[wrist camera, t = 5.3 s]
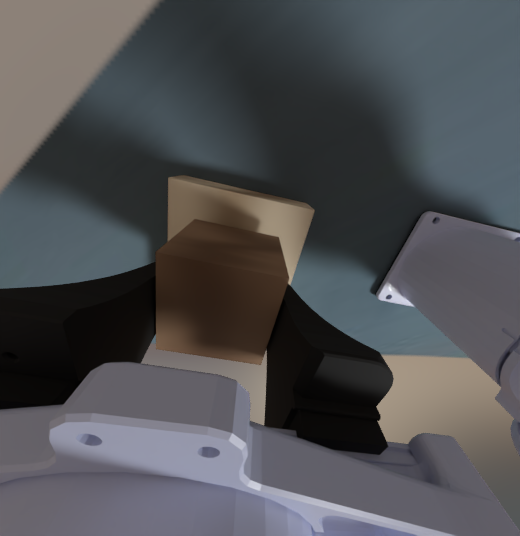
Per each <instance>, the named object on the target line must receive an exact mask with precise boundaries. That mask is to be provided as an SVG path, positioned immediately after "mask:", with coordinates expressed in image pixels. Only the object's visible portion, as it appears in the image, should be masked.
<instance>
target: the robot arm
mask: <svg viewBox="0 0 520 536" xmlns="http://www.w3.org/2000/svg"><path fill="white" fill-rule="evenodd" d="M434 218H436V220H435V221H434V222H432V221H433V219H434ZM387 295H389V296H388V297H386V296H387ZM376 297H377V298H378V299H379V300H382V301H387V302H392V303H397V304H402V305H407V306H413V307H416V308H417V309H418V310H419V311H420V312H421V313H422V314H423V315H424V316H425V317H426V318H428V319H429V320H430V321H431V322H432V323H433V324H434V325H435V326H436V327H437V328H438V329H439V330H440V331H441V332H443V333H444V334H445V335H446V336H447V337H448V338H449V339H450V340H451V341H452V342H453V343H454V344H455V345H456V346H458V347H459V348H460V349H461V350H462V351H463V352H464V353H465V354H466V355H467V356H468V357H469V358H470V359H471V360H473V361H474V362H475V363H476V364H477V365H478V366H479V367H480V368H481V369H482V370H483V371H484V372H485V373H486V374H488V375H489V376H490V377H491V378H492V379H493V380H494V381H495V382H496V383H497V384H498V385H499V386H500V387H501V390H500V392H499V393H498V394H497V396H496V397H495V399H496V400H497V401H498V402H499V403H500V404H501V405H502V406H503V407H504V408H505V409H506V411H508V412H509V414H511V416H512V417H513V418H514V420H513V422H512V425H511V436H512V440H513V443H514V446H515V448H516V450H517V451H518V454H519V456H520V233H517V232H513V231H509V230H505V229H501V228H497V227H492V226H488V225H484V224H480V223H476V222H472V221H468V220H464V219H460V218H456V217H452V216H448V215H444V214H440V213H436V212H432V211H427V212H425V213H423V214H422V215H421V217H420V219H419V220H418V222H417V224H416V226H415V227H414V229H413V231H412V232H411V234H410V236H409V238H408V239H407V241H406V243H405V245H404V246H403V248H402V250H401V251H400V253H399V255H398V257H397V258H396V260H395V262H394V264H393V265H392V267H391V269H390V271H389V272H388V274H387V276H386V277H385V279H384V281H383V283H382V284H381V286H380V288H379V290H378V291H377V293H376ZM155 334H156V262H154V263H151V264H149V265H146V266H143V267H140V268H137V269H134V270H131V271H128V272H125V273H121V274H118V275H114V276H110V277H105V278H100V279H95V280H89V281H84V282H78V283H70V284H63V285H53V286H42V287H27V288H9V289H0V536H520V531H519V530H518V528H517V527H516V525H515V524H514V523H513V521H512V520H511V518H510V517H509V515H508V514H507V512H506V511H505V510H504V508H503V507H502V505H501V504H500V503H499V501H498V500H497V498H496V497H495V495H494V494H493V493H492V491H491V490H490V488H489V487H488V486H487V484H486V483H485V481H484V480H483V478H482V477H481V475H480V474H479V473H478V471H477V470H476V468H475V467H474V466H473V464H472V463H471V462H470V460H469V458H468V457H467V456H466V454H465V453H464V452H463V450H462V448H461V447H460V446H459V444H458V443H457V441H456V440H455V439H454V438H453V437H451V436H445V435H437V434H430V433H422V434H418V435H416V436H415V437H413V438H412V439H411V441H410V442H409V444H402V443H394V442H386V440H385V437H384V435H383V433H382V430H381V428H380V426H379V424H378V422H377V421H379V420H380V414H379V412H378V410H377V408H376V406H377V405H378V403H380V401H381V400H382V399H383V398H384V396H385V395H386V394H387V393H388V391H389V390H390V388H391V386H392V384H393V375H392V372H391V370H390V368H389V367H388V365H387V364H386V362H385V361H384V359H383V357H382V356H381V354H380V353H379V352H378V351H376V350H374V349H372V348H370V347H368V346H366V345H364V344H362V343H360V342H358V341H356V340H355V339H353V338H351V337H350V336H348V335H346V334H344V333H343V332H341V331H340V330H338V329H337V328H335V327H334V326H332V325H331V324H330V323H328V322H327V321H325V320H324V319H323V318H322V317H320V316H319V315H318V314H317V313H316V312H315V311H313V310H312V309H311V308H310V307H309V306H308V305H307V304H306V303H305V302H304V301H303V300H302V299H301V298H300V297H299V295H298V294H297V293H296V292H295V291H294V290H293V288H292V287H291V286H290V285H289V284H287V287H286V290H285V293H284V297H283V300H282V303H281V306H280V309H279V312H278V315H277V318H276V321H275V324H274V327H273V330H272V333H271V336H270V339H269V342H268V345H267V383H266V405H265V406H266V407H265V423H264V424H265V425H264V426H263V425H260V424H258V423H255V422H251V421H250V397H249V392H248V391H246V389H245V388H243V387H242V386H241V385H240V384H239V383H238V382H237V381H236V380H233V379H230V378H227V377H224V376H221V375H217V374H210V373H203V372H196V371H189V370H182V369H175V368H168V367H162V366H154V365H148V364H141V361H142V359H143V357H144V355H145V353H146V351H147V349H148V347H149V345H150V343H151V341H152V339H153V338H154V336H155Z"/></svg>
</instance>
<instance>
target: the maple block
mask: <svg viewBox="0 0 520 536" xmlns="http://www.w3.org/2000/svg"><path fill="white" fill-rule="evenodd" d="M314 212H315V210H314V209H313V208H312V207H310V206H309V205H308V204H307V203H304V202H299V201H295V200H291V199H286V198H282V197H277V196H273V195H269V194H264V193H260V192H255V191H251V190H247V189H242V188H238V187H233V186H229V185H225V184H220V183H216V182H211V181H207V180H203V179H198V178H194V177H190V176H185V175H180V176H174V177H168V241H169V240H170V239H172V238H173V237H174V236H175V235H176V234H178V233H179V232H180V231H181V230H182V229H184V228H185V227H186V226H187V225H188V224H189V223H191V222H192V221H193V220H194V219H198V220H202V221H207V222H212V223H216V224H221V225H226V226H230V227H235V228H239V229H244V230H249V231H253V232H258V233H262V234H267V235H272V236H276V237H279V240H280V243H281V247H282V251H283V255H284V259H285V263H286V267H287V271H288V275H289V281H288V284H289V285H290V284H291V281H292V278H293V275H294V272H295V269H296V266H297V263H298V260H299V257H300V254H301V251H302V248H303V245H304V242H305V239H306V236H307V233H308V230H309V227H310V224H311V221H312V218H313V215H314Z"/></svg>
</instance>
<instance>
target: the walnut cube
mask: <svg viewBox="0 0 520 536" xmlns="http://www.w3.org/2000/svg"><path fill="white" fill-rule="evenodd" d="M288 281H289V275H288V271H287V267H286V263H285V259H284V255H283V251H282V247H281V243H280V240H279V237H276V236H272V235H267V234H262V233H258V232H253V231H249V230H244V229H239V228H235V227H230V226H226V225H221V224H216V223H212V222H207V221H202V220H198V219H194V220H193V221H192V222H191V223H189V224H188V225H187V226H186V227H185V228H184V229H182V230H181V231H180V232H179V233H178V234H176V235H175V236H174V237H173V238H172V239H170V240H169V241H168V242H167V243H166V244H165V245H163V246H162V247H161V248H160V249H159V250H157V251H156V349H159V350H166V351H173V352H179V353H185V354H192V355H199V356H205V357H212V358H219V359H225V360H231V361H238V362H244V363H251V364H258V365H261V363H262V360H263V357H264V354H265V351H266V348H267V345H268V342H269V339H270V336H271V333H272V330H273V327H274V324H275V321H276V318H277V315H278V312H279V309H280V306H281V303H282V300H283V297H284V293H285V290H286V287H287V284H288Z"/></svg>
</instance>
